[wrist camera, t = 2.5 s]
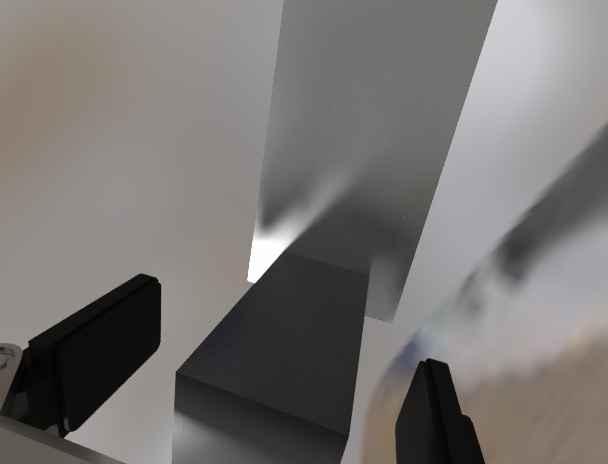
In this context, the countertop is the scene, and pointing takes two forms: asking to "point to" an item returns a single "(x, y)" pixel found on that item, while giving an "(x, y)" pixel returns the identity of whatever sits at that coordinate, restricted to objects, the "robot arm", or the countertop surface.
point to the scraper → (329, 223)
